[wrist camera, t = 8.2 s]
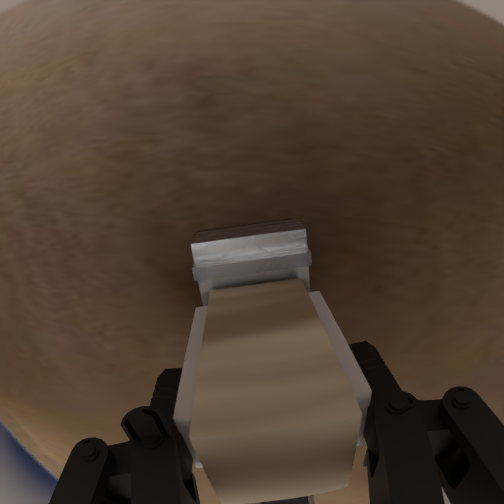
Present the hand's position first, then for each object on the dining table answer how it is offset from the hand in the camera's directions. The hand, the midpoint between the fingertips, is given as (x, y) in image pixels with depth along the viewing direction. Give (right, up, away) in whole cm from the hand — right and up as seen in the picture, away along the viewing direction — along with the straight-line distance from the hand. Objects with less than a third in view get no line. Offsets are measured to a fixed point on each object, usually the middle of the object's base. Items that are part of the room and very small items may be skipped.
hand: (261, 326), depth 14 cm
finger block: (0, 0, 0) cm, 1 cm away
